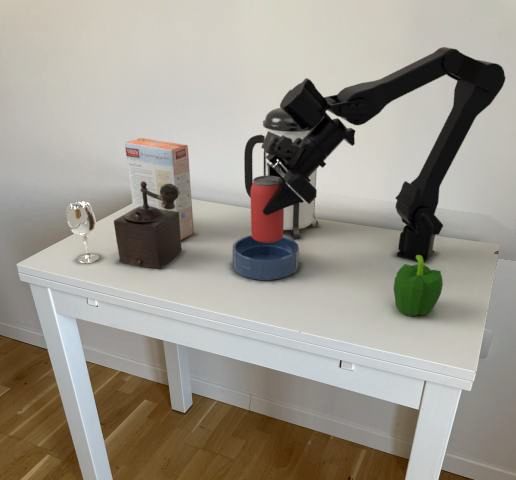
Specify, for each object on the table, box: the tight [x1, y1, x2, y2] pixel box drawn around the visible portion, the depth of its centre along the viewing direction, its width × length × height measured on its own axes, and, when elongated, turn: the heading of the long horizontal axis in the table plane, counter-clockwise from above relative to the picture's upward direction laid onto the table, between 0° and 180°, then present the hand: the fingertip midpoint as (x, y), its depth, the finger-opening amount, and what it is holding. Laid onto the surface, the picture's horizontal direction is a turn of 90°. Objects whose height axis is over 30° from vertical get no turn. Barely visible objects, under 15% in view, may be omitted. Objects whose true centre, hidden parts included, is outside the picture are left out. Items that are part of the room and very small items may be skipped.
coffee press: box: [243, 107, 319, 240], centre depth 125 cm, size 17×16×30 cm
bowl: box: [231, 235, 300, 281], centre depth 114 cm, size 14×14×4 cm
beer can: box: [250, 175, 285, 243], centre depth 107 cm, size 7×7×12 cm
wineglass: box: [66, 201, 100, 264], centre depth 115 cm, size 6×6×12 cm
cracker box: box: [124, 137, 195, 241], centre depth 125 cm, size 14×6×21 cm, turn 58°
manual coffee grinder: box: [113, 181, 183, 269], centre depth 113 cm, size 16×11×18 cm
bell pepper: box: [393, 255, 444, 317], centre depth 96 cm, size 8×8×10 cm
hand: (260, 207), depth 107 cm, fingers closed on beer can, 6 cm apart
